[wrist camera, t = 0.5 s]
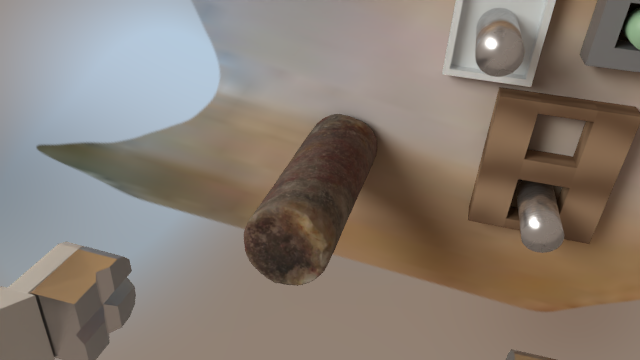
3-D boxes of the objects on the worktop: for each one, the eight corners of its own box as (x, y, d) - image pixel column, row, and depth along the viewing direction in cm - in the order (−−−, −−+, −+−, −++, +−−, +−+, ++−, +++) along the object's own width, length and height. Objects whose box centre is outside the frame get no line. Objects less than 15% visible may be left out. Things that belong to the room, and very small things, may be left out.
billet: (480, 5, 46) (480, 27, 39) (523, 10, 45) (530, 33, 38) (472, 45, 47) (470, 73, 41) (512, 50, 47) (518, 79, 40)
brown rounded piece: (302, 152, 58) (231, 263, 42) (323, 97, 54) (254, 196, 38) (363, 181, 58) (316, 303, 42) (389, 127, 54) (349, 239, 37)
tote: (461, -31, 45) (461, -28, 44) (558, -21, 43) (560, -18, 42) (442, 68, 50) (441, 74, 48) (529, 81, 48) (530, 87, 47)
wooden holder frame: (499, 87, 49) (500, 96, 47) (635, 106, 47) (642, 117, 45) (468, 208, 56) (468, 220, 54) (585, 230, 54) (589, 243, 52)
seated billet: (521, 173, 53) (527, 216, 46) (558, 180, 52) (569, 224, 45) (512, 202, 55) (516, 247, 48) (547, 209, 54) (557, 256, 47)
